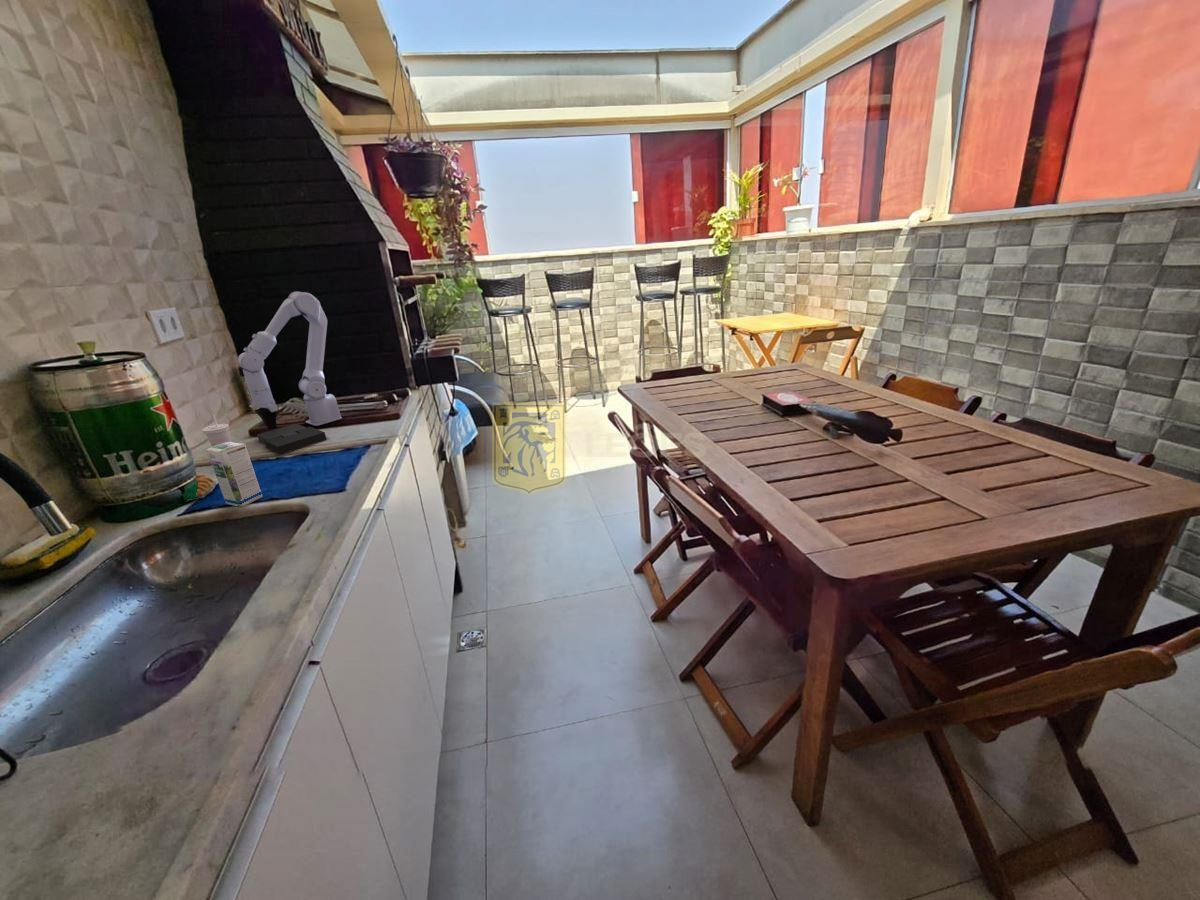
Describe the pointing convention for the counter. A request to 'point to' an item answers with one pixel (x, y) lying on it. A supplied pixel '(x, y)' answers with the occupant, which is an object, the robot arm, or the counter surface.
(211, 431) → the smoothie
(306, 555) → the counter surface
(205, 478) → the pastry
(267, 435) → the loose pad
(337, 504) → the counter surface
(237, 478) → the syrup box
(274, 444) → the base pad
